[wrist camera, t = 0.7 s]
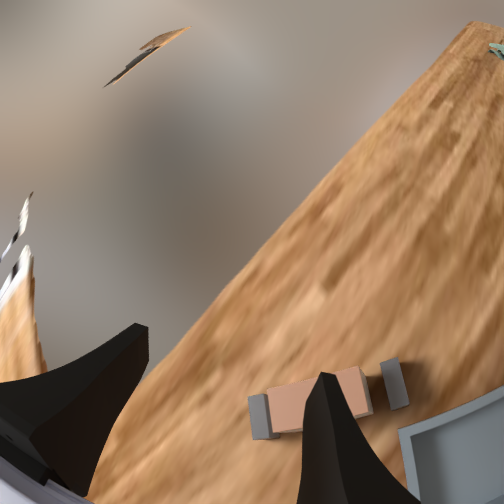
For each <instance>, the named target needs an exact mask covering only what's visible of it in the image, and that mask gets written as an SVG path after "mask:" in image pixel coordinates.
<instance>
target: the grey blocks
mask: <svg viewBox="0 0 504 504" xmlns="http://www.w3.org/2000/svg"><path fill="white" fill-rule="evenodd" d="M380 366H381V370H382V374H383V378H384V382H385V386H386V390H387V395H388V399H389V403H390V408H391V411H394V410H397V409H400V408H403V407H406V406H409V399H408V395H407V391H406V387H405V383H404V379H403V375H402V371H401V368H400V364H399V360H398V357H396V358H393V359H390V360H387V361H384V362H381V363H380ZM248 404H249V413H250V421H251V429H252V437H253V440H265V439H272V438H279V437H280V434H279V433H273V430H272V422H271V415H270V408H269V400H268V395H266V394H259V395H254V396H249V397H248Z"/></svg>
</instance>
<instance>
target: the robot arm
mask: <svg viewBox="0 0 504 504" xmlns="http://www.w3.org/2000/svg"><path fill="white" fill-rule="evenodd" d="M148 344H149V343H148V327H146V326H143V325H140V324H137V323H134V324H132V325H131V326H129V327H128V328H127V329H125V330H123V331H122V332H121V333H119V334H118V335H116V336H115V337H113V338H112V339H110V340H109V341H107V342H106V343H104V344H102V345H101V346H99V347H98V348H96V349H94V350H93V351H91V352H89V353H88V354H86V355H84V356H82V357H80V358H79V359H77V360H75V361H73V362H71V363H68V364H66V365H64V366H62V367H59V368H57V369H54V370H52V371H49V372H46V373H43V374H40V375H37V376H33V377H29V378H25V379H21V380H16V381H10V382H3V383H0V504H94V503H92V502H90V501H88V500H86V499H84V498H82V497H86V496H87V494H88V491H89V487H90V484H91V481H92V478H93V474H94V472H95V469H96V466H97V463H98V460H99V458H100V455H101V453H102V450H103V448H104V445H105V443H106V440H107V438H108V436H109V434H110V431H111V429H112V427H113V425H114V423H115V421H116V419H117V417H118V416H119V414H120V412H121V411H122V409H123V408H124V406H125V404H126V403H127V401H128V399H129V398H130V396H131V395H132V393H133V391H134V390H135V388H136V386H137V385H138V383H139V381H140V380H141V378H142V375H143V373H144V371H145V369H146V366H147V364H148V362H149V345H148ZM297 504H421V501H419V500H418V499H417V498H416V497H415V496H414V495H412V494H411V493H410V492H409V491H408V490H407V489H405V488H404V487H403V486H402V485H401V484H400V483H399V482H398V481H397V480H396V479H395V478H394V476H393V475H392V474H391V473H390V472H389V471H388V469H387V468H386V467H385V466H384V465H383V463H382V462H381V461H380V460H379V458H378V457H377V455H376V454H375V453H374V451H373V450H372V448H371V447H370V445H369V444H368V442H367V440H366V439H365V437H364V435H363V433H362V432H361V430H360V428H359V426H358V424H357V422H356V420H355V418H354V416H353V414H352V412H351V410H350V408H349V405H348V403H347V401H346V399H345V396H344V394H343V391H342V389H341V387H340V384H339V382H338V379H337V377H336V375H335V374H331V373H325V372H321V373H320V375H319V377H318V379H317V381H316V383H315V385H314V387H313V389H312V391H311V393H310V394H309V396H308V398H307V400H306V403H305V410H304V417H303V434H302V472H301V481H300V487H299V493H298V499H297Z"/></svg>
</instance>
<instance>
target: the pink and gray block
mask: <svg viewBox="0 0 504 504" xmlns="http://www.w3.org/2000/svg"><path fill="white" fill-rule="evenodd" d="M331 374H335V375H336V377H337V379H338V382H339V384H340V387H341V389H342V391H343V394H344V396H345V399H346V401H347V403H348V405H349V408H350V410H351V412H352V414H353V416H354V418H355V419H357V418H361V417H364V416H368V415H371V414H374V412H373V407H372V403H371V398H370V393H369V389H368V385H367V380H366V376H365V375H364V373H363V372H362V370H361V369H360V367H359V366H358V365H357V366H354V367H351V368H347V369H344V370H341V371H337V372H334V373H331ZM317 379H318V377H315V378H311V379H307V380H303V381H299V382H295V383H291V384H287V385H282V386H278V387H273V388H269V389H267V393H268V400H269V408H270V415H271V422H272V430H273V433H281V432H299V431H303V417H304V410H305V403H306V400H307V398H308V396H309V394H310V393H311V391H312V389H313V387H314V385H315V383H316V381H317Z"/></svg>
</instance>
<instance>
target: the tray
mask: <svg viewBox="0 0 504 504" xmlns="http://www.w3.org/2000/svg"><path fill="white" fill-rule="evenodd" d="M398 433H399V439H400V444H401V449H402V455H403V460H404V466H405V472H406V479H407V486H408V491H409V492H410V493H411V494H412V495H414V496H415V497H416V498H417V499H418V500H419V501H421V504H504V385H502V386H500V387H498V388H497V389H495V390H493V391H491V392H489V393H487V394H485V395H482V396H480V397H478V398H476V399H474V400H472V401H470V402H467V403H465V404H463V405H461V406H458V407H456V408H453V409H451V410H449V411H446V412H444V413H441V414H439V415H436V416H433V417H431V418H428V419H425V420H423V421H420V422H417V423H414V424H411V425H408V426H405V427H402V428H399V429H398Z"/></svg>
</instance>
